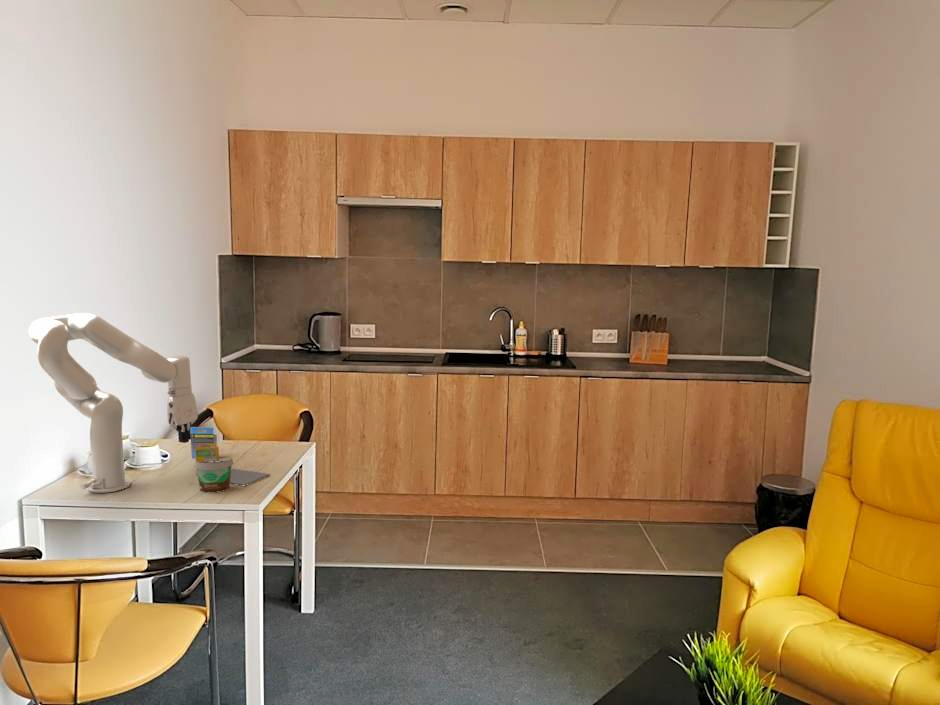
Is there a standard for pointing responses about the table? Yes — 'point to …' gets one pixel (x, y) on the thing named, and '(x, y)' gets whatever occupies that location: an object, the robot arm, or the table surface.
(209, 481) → the food container
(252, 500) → the table surface
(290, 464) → the table surface
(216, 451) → the crayon box
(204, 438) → the label tape box
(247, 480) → the mat
